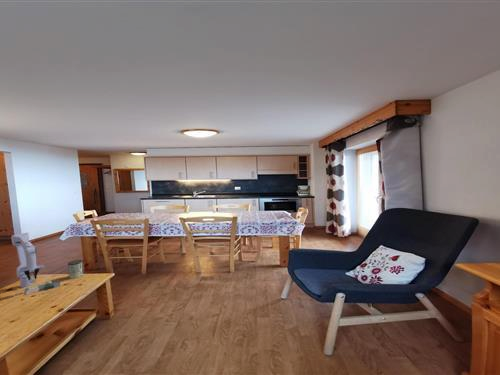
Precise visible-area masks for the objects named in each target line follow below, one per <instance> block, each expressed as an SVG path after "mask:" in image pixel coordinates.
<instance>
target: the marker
mask: <svg viewBox="0 0 500 375" xmlns="http://www.w3.org/2000/svg"><path fill="white" fill-rule="evenodd" d="M29 275H30V283H32V284H33V283H36V280H37V279H35V270H34V271H32V272H29Z"/></svg>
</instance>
